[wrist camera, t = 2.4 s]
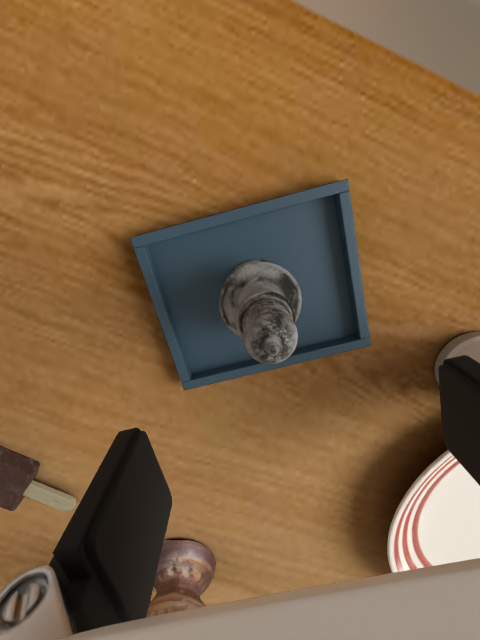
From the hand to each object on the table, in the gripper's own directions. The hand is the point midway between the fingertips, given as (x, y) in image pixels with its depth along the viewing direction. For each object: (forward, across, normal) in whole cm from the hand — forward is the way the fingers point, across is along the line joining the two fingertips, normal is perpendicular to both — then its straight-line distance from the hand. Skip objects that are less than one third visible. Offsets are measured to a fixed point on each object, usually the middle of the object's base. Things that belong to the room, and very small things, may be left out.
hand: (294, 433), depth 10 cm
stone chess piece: (+18, 0, 0) cm, 18 cm away
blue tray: (+18, 0, 0) cm, 18 cm away
